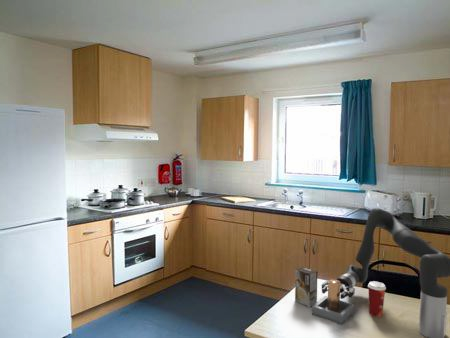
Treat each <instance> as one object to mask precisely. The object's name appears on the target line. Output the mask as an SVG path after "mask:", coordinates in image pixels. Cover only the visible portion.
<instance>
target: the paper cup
mask: <svg viewBox="0 0 450 338" xmlns="http://www.w3.org/2000/svg"><path fill="white" fill-rule="evenodd" d="M367 288H368V313H369V314H370V315H371V316H373V317H382V316H383V311H384V303H385V294H386V290H387V287H386V285H385V284H384V283H383V282H379V281H375V280H373V281H369V283H368V285H367Z"/></svg>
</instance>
